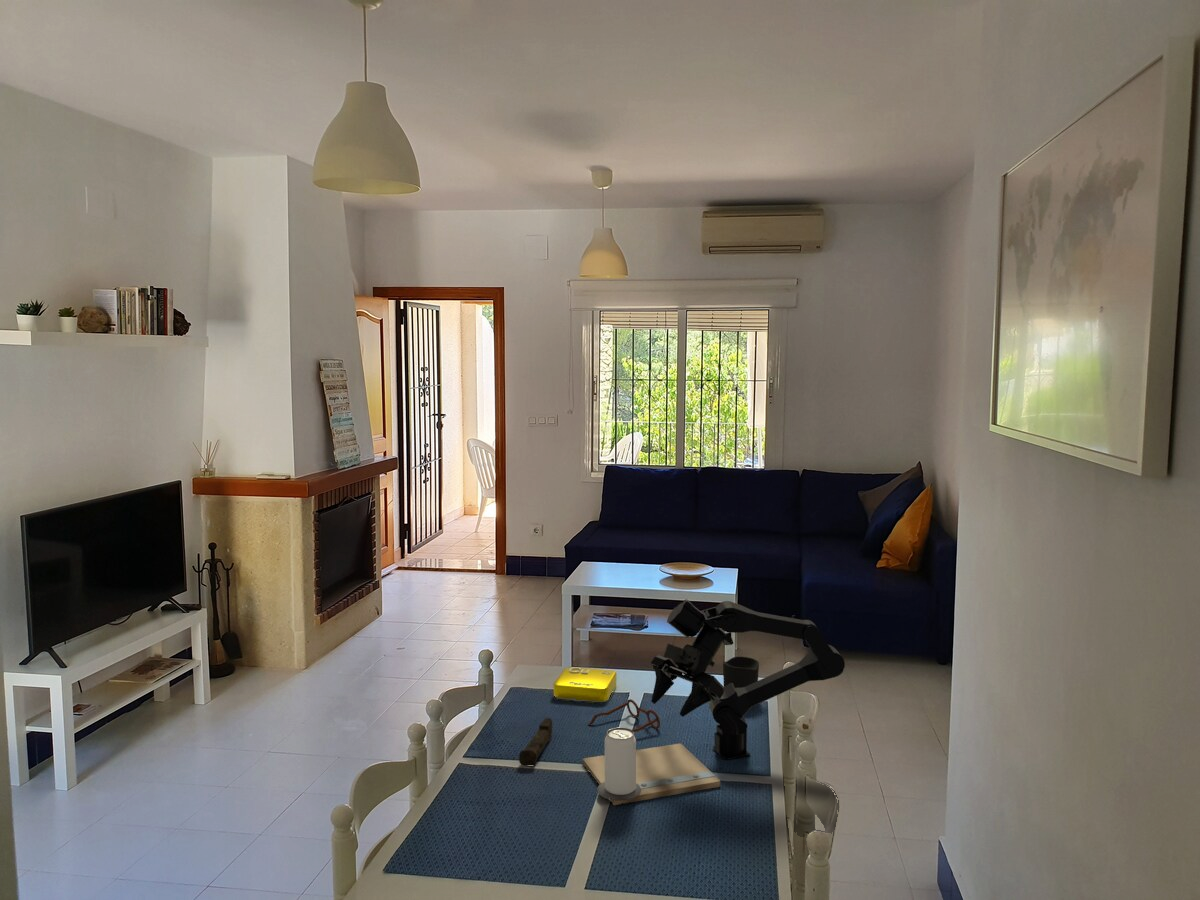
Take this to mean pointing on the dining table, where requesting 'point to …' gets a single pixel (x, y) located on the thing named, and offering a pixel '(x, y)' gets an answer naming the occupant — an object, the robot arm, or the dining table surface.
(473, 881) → the dining table surface
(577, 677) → the element tile
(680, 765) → the subfloor panel
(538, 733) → the hand tool
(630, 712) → the glasses
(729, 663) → the pen holder
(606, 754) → the can
